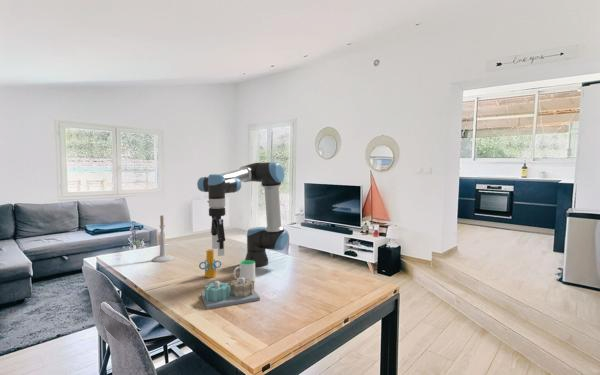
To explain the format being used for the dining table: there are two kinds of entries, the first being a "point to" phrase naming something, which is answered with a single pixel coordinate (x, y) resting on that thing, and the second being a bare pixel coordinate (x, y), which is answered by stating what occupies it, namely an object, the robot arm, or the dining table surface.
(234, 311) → the dining table surface
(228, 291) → the gear
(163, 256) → the candlestick
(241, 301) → the gear board
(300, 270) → the dining table surface
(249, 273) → the mug
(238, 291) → the gear
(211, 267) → the orange post with rings
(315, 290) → the dining table surface
